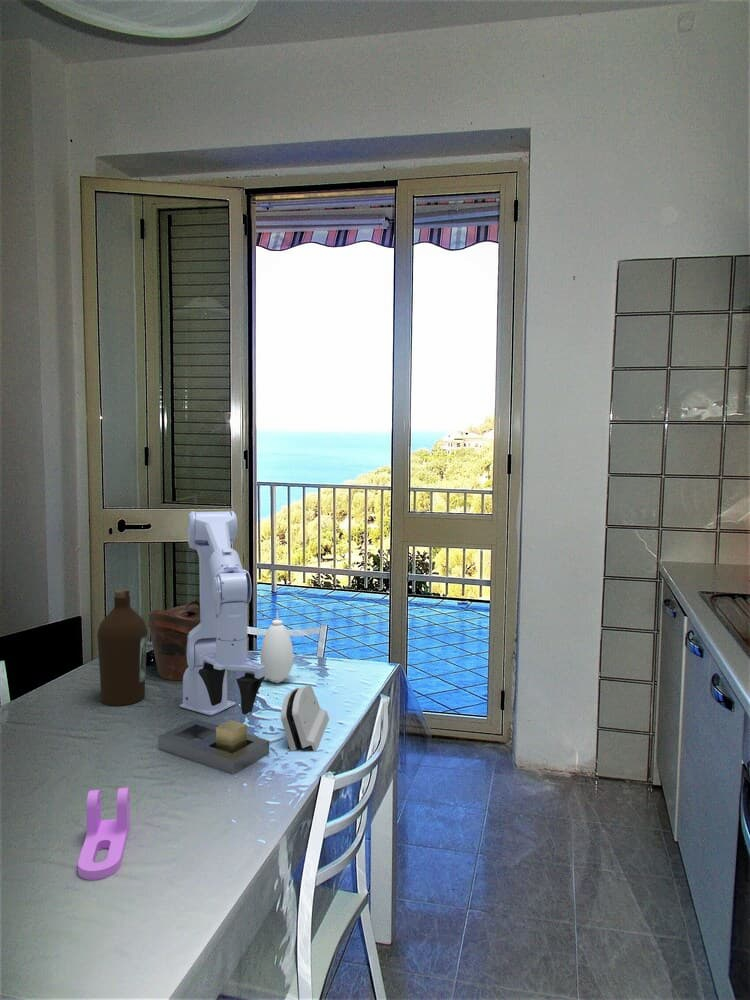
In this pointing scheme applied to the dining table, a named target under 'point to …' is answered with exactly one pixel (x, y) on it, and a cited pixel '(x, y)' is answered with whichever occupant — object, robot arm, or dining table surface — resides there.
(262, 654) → the sauce bottle
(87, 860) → the bracket
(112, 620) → the olive oil
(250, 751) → the grey peg hole base
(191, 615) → the terracotta flower pot
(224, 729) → the tan rectangular block
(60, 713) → the dining table surface
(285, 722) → the grey piece
